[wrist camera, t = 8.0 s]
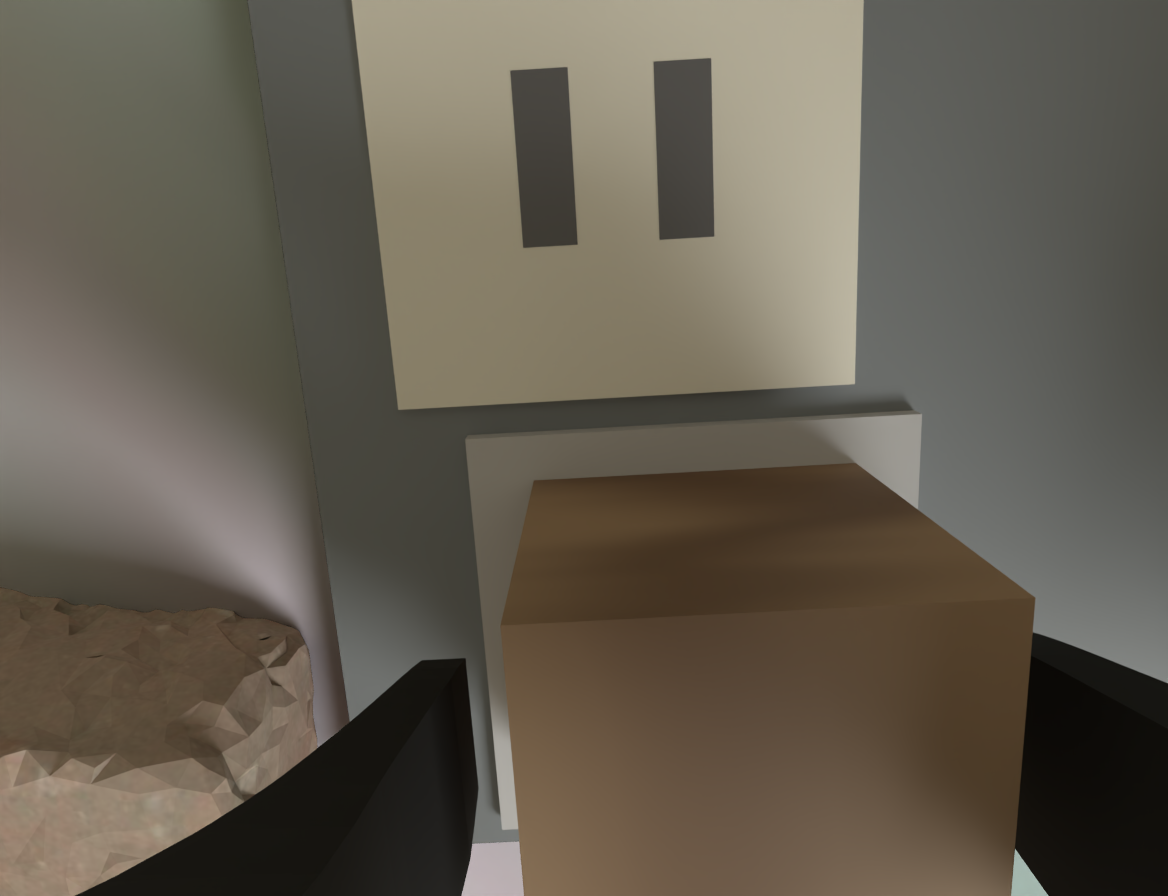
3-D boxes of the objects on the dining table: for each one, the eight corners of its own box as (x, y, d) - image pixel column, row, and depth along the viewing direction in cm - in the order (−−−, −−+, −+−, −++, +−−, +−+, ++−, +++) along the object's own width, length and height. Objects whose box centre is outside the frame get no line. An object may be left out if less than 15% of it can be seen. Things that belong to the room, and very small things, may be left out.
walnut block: (855, 462, 12) (1036, 598, 7) (848, 748, 13) (1000, 1028, 8) (533, 480, 12) (499, 625, 7) (555, 762, 13) (538, 1047, 9)
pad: (913, 410, 12) (922, 413, 12) (898, 798, 14) (904, 810, 14) (467, 435, 12) (465, 439, 12) (503, 817, 14) (502, 829, 14)
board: (1341, -964, 10) (1468, -1171, 8) (1133, 766, 15) (1188, 817, 14) (159, -871, 10) (90, -1054, 8) (384, 803, 15) (364, 857, 14)
